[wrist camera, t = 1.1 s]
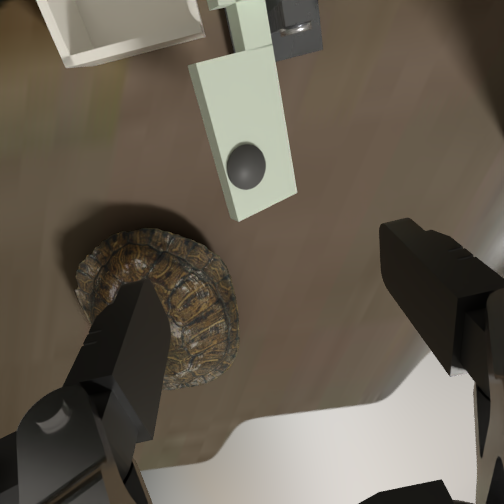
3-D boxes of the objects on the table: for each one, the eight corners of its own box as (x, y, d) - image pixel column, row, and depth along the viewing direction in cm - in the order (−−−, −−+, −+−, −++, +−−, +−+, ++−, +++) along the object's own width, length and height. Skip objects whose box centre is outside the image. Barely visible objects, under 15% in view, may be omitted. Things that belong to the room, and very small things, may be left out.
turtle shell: (209, 218, 29) (259, 403, 36) (214, 199, 38) (254, 351, 44) (24, 261, 29) (107, 437, 36) (70, 233, 38) (131, 379, 44)
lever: (397, -157, 20) (467, -206, 17) (399, 135, 29) (446, 138, 26) (122, -168, 14) (156, -250, 11) (230, 218, 22) (267, 235, 19)
